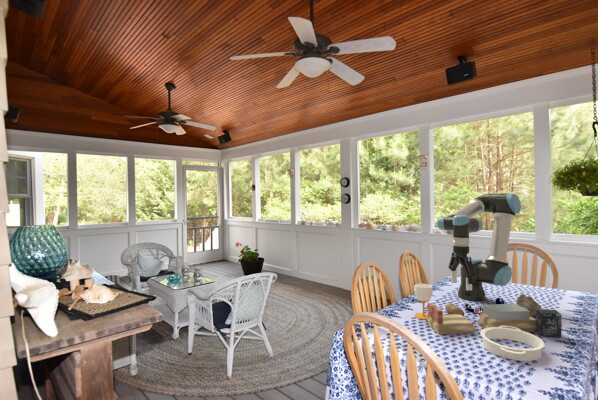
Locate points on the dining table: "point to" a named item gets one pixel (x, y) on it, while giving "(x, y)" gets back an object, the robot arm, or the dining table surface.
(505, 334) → the cream oval ring
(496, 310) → the slab
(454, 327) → the track
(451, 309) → the roller
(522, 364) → the dining table surface
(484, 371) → the dining table surface
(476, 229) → the robot arm
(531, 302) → the rock
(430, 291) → the cup
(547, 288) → the dining table surface
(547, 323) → the box
